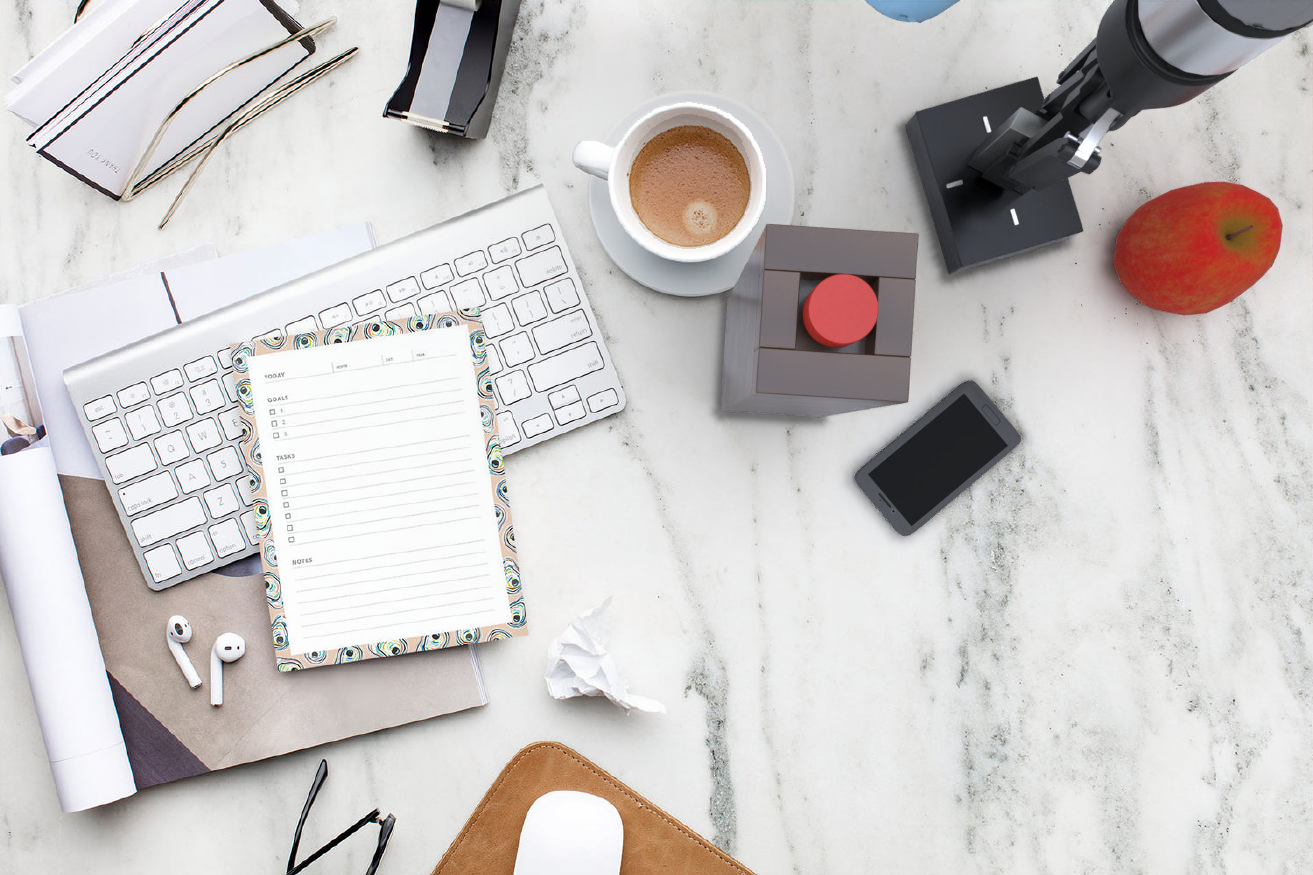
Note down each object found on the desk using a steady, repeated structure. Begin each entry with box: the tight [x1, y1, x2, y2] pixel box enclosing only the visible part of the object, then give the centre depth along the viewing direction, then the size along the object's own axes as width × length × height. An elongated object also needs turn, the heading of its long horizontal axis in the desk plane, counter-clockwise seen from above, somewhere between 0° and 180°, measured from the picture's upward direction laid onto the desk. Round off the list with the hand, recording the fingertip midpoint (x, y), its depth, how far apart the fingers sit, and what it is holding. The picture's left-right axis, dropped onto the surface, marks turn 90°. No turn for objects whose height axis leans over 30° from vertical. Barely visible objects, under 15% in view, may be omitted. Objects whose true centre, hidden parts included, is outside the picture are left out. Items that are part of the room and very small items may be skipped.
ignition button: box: [803, 274, 878, 348], centre depth 45 cm, size 4×4×2 cm
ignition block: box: [720, 223, 919, 418], centre depth 58 cm, size 10×9×24 cm
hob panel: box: [905, 76, 1084, 275], centre depth 68 cm, size 14×11×3 cm
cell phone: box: [854, 379, 1022, 537], centre depth 69 cm, size 7×14×1 cm, turn 130°
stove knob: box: [968, 107, 1048, 194], centre depth 63 cm, size 6×2×8 cm, turn 62°
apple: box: [1112, 181, 1284, 316], centre depth 64 cm, size 11×11×11 cm
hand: (1004, 167), depth 66 cm, fingers closed on stove knob, 2 cm apart
